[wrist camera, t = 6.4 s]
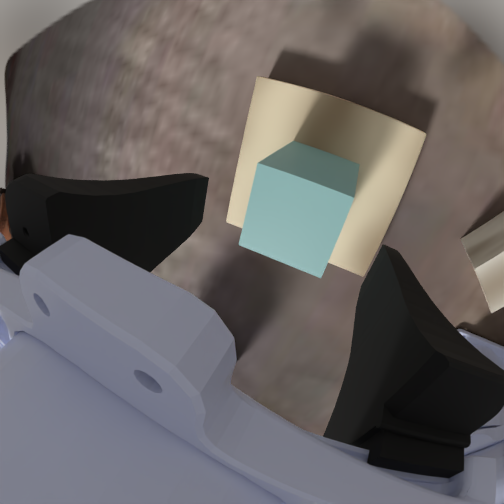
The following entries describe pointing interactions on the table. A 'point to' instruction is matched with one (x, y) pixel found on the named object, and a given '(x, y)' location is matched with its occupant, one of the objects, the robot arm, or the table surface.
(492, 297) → the cream cube
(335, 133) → the cream square slab
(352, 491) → the robot arm
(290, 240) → the teal block
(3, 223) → the rusty metal shackles
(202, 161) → the table surface
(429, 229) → the table surface
